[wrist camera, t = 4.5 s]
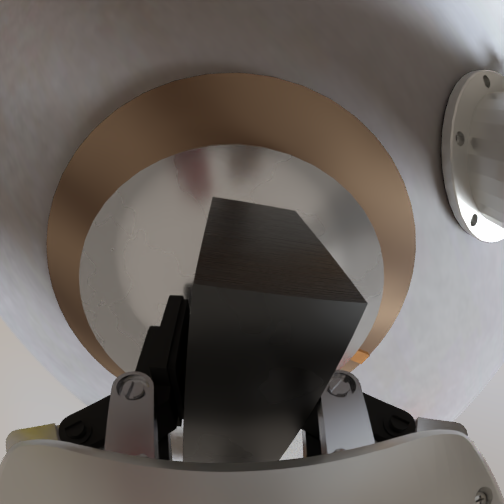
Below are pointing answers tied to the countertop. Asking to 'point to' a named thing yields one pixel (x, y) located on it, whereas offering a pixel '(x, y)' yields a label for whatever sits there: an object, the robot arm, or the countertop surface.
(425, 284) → the countertop surface
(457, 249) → the countertop surface
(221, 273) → the dial
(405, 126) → the countertop surface
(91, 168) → the base
